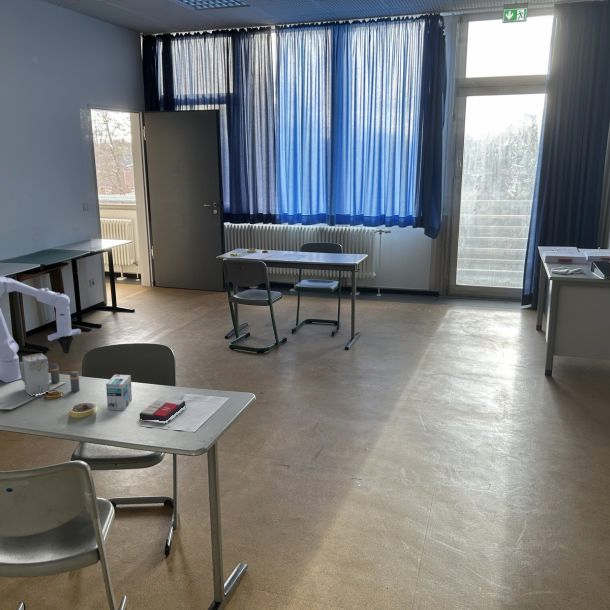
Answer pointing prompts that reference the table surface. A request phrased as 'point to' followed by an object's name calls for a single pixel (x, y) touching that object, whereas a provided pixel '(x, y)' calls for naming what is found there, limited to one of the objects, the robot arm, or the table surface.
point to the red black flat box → (162, 409)
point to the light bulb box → (119, 392)
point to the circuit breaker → (35, 373)
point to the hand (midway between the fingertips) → (66, 352)
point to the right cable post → (74, 381)
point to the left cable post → (54, 373)
